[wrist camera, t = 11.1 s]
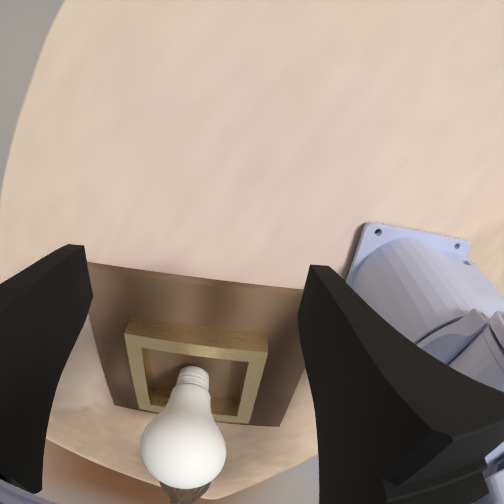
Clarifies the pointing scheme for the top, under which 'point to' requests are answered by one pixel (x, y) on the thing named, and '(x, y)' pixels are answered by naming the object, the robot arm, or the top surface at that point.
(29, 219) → the top surface
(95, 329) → the lamp base
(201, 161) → the top surface
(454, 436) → the robot arm
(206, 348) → the socket collar
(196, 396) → the white light bulb
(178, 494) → the vase
